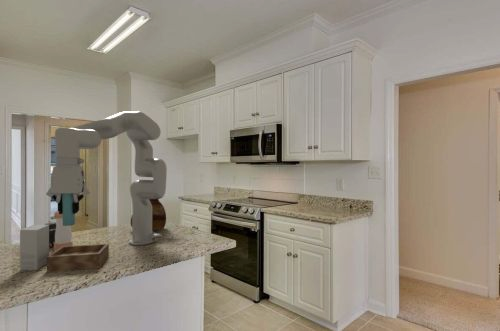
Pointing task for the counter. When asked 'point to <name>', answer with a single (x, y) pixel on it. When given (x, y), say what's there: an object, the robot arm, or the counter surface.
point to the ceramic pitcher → (157, 215)
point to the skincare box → (34, 247)
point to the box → (78, 257)
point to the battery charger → (51, 233)
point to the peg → (68, 209)
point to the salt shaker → (62, 233)
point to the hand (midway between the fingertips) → (68, 212)
